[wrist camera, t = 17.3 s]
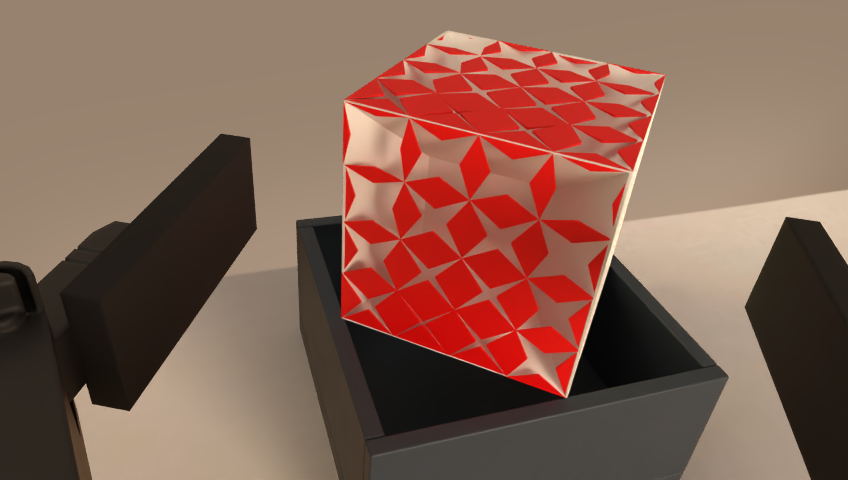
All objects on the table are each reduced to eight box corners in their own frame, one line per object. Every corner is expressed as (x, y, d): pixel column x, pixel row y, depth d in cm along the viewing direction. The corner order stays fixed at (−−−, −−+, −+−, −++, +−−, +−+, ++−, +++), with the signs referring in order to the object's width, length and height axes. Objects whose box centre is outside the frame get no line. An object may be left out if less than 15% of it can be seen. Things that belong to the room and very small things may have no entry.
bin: (299, 328, 31) (295, 219, 27) (533, 291, 34) (555, 192, 31) (364, 575, 21) (370, 456, 18) (676, 488, 25) (730, 376, 22)
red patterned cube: (567, 398, 20) (633, 171, 16) (340, 318, 22) (342, 99, 18) (610, 263, 26) (666, 73, 22) (429, 211, 29) (448, 29, 24)
